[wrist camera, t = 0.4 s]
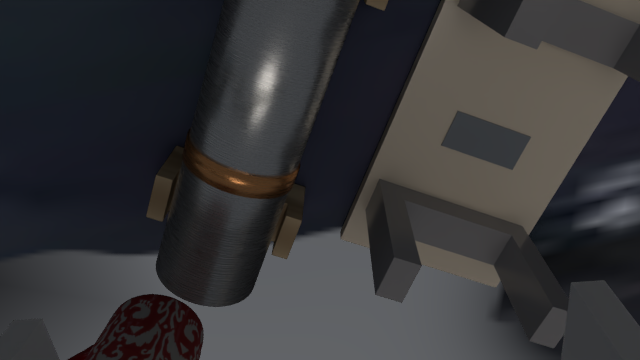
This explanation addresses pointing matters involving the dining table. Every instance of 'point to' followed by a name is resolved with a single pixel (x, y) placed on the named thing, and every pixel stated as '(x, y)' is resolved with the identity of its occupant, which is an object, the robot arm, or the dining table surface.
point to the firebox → (491, 145)
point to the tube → (247, 142)
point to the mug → (149, 332)
